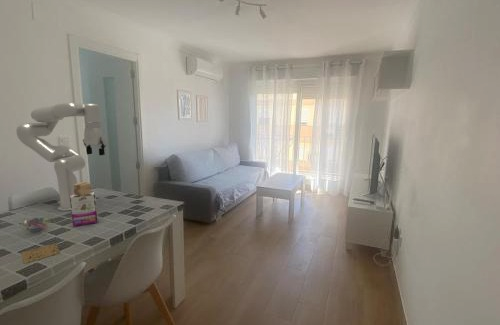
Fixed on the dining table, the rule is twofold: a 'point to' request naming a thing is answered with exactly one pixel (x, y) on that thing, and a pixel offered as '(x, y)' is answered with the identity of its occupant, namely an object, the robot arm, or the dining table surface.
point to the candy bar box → (84, 209)
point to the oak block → (82, 188)
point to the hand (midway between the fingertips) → (95, 154)
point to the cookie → (40, 253)
